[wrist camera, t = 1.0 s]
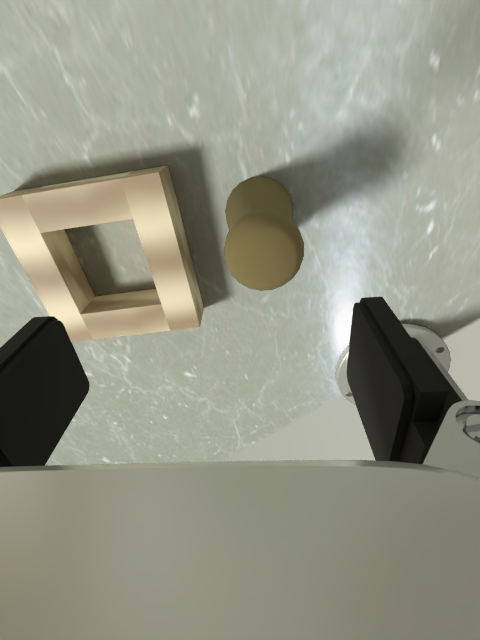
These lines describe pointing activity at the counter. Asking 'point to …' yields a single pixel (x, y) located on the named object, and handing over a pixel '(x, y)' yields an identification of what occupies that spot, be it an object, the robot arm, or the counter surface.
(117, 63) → the counter surface
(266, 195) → the cork
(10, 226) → the socket block
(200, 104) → the counter surface
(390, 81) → the counter surface
